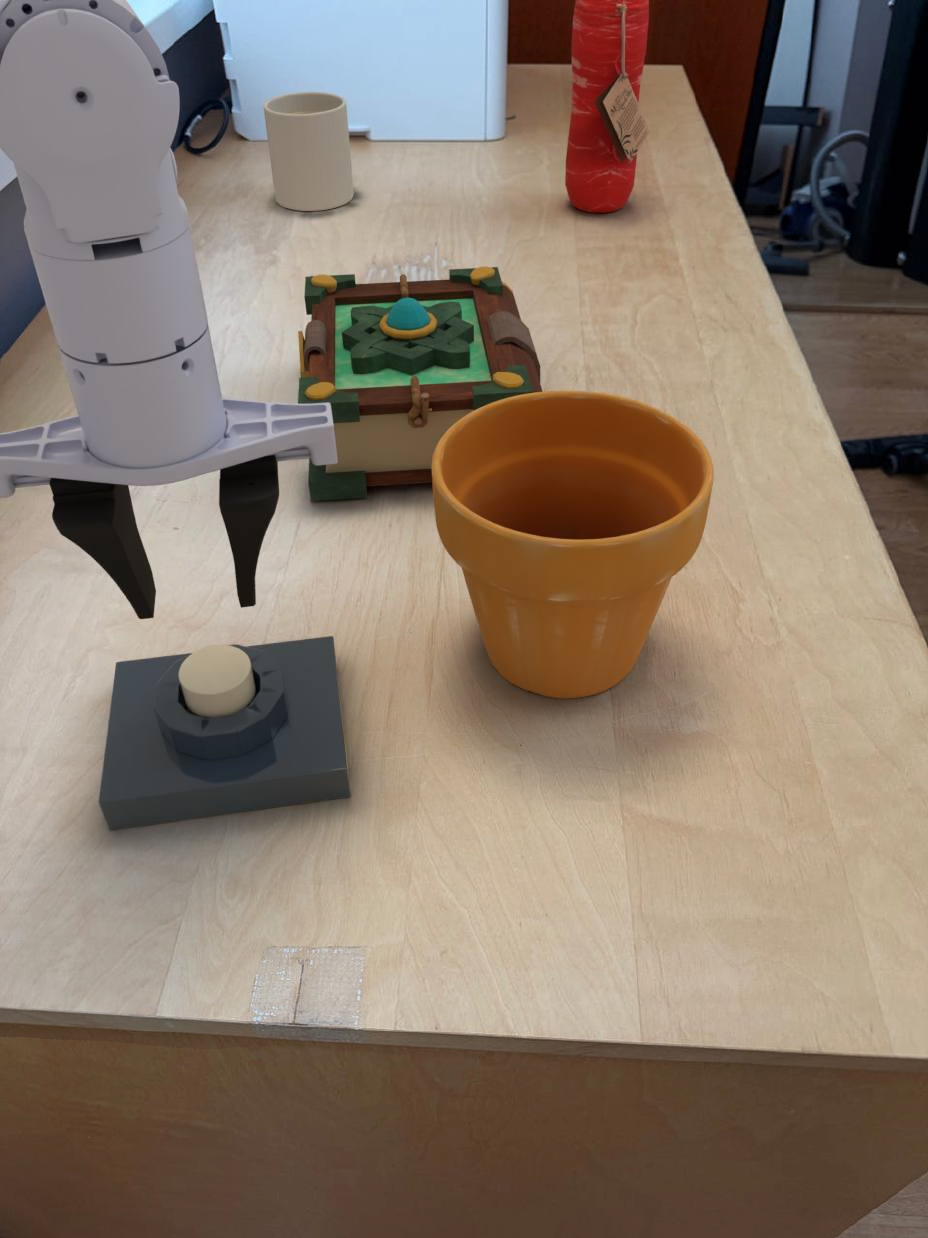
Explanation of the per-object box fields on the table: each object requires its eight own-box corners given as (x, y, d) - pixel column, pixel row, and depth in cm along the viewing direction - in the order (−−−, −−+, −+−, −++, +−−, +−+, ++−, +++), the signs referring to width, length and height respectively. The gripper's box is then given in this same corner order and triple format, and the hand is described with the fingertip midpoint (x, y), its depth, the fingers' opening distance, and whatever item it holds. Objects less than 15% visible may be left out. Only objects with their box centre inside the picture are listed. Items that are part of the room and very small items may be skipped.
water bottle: (651, 227, 110) (681, -51, 93) (577, 232, 109) (593, -48, 93) (624, 188, 119) (646, -72, 102) (555, 192, 118) (566, -69, 102)
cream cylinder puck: (183, 723, 52) (176, 698, 51) (186, 673, 55) (179, 648, 53) (256, 713, 52) (251, 689, 51) (255, 664, 55) (250, 640, 54)
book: (272, 336, 92) (256, 222, 85) (509, 323, 93) (511, 210, 87) (254, 508, 72) (230, 377, 65) (555, 489, 73) (562, 359, 67)
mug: (294, 217, 114) (282, 119, 107) (261, 191, 120) (248, 97, 113) (382, 198, 118) (376, 102, 111) (347, 174, 124) (339, 82, 117)
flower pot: (441, 742, 55) (432, 548, 47) (437, 575, 66) (429, 392, 58) (705, 732, 56) (745, 537, 47) (658, 567, 66) (684, 384, 58)
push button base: (109, 831, 51) (88, 778, 49) (124, 689, 59) (107, 637, 56) (351, 797, 53) (344, 744, 50) (336, 663, 60) (330, 611, 58)
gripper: (315, 274, 44) (344, 532, 53) (-41, 303, 42) (51, 565, 51) (326, 349, 39) (356, 622, 48) (-80, 386, 37) (30, 661, 46)
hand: (198, 599), depth 49 cm, fingers open, 4 cm apart
